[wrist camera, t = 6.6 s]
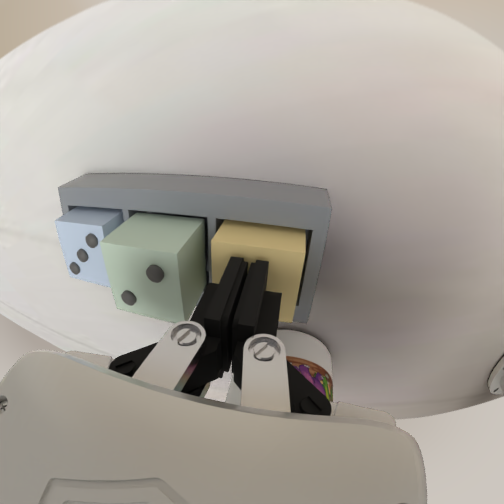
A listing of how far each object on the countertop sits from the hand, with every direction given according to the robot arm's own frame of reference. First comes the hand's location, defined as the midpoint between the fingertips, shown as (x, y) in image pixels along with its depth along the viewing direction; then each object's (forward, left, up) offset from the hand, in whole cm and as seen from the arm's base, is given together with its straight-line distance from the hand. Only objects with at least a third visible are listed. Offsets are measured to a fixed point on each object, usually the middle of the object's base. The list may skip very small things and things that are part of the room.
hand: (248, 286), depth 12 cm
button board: (+5, 0, -5) cm, 7 cm away
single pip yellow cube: (0, 0, -4) cm, 4 cm away
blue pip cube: (+10, 0, -4) cm, 10 cm away
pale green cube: (+5, 0, -2) cm, 5 cm away
